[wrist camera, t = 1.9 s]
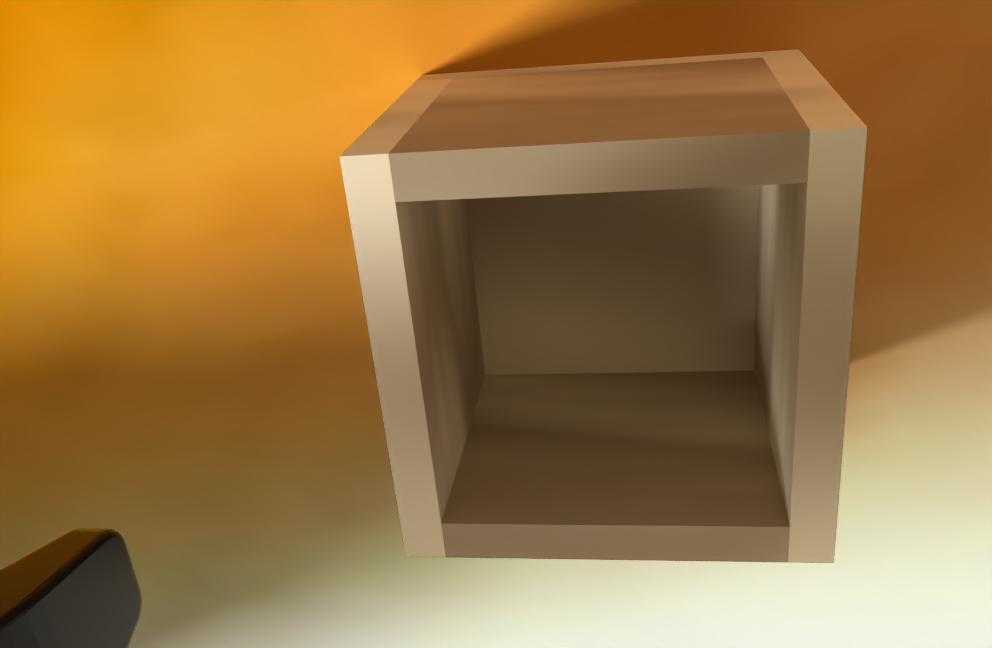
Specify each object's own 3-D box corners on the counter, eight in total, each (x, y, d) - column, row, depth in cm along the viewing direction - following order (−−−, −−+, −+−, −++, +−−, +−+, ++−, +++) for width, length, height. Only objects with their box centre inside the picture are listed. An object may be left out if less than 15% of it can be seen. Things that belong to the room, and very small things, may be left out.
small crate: (782, 383, 17) (833, 562, 13) (461, 387, 18) (405, 556, 14) (797, 47, 15) (867, 127, 10) (423, 73, 16) (340, 156, 11)
